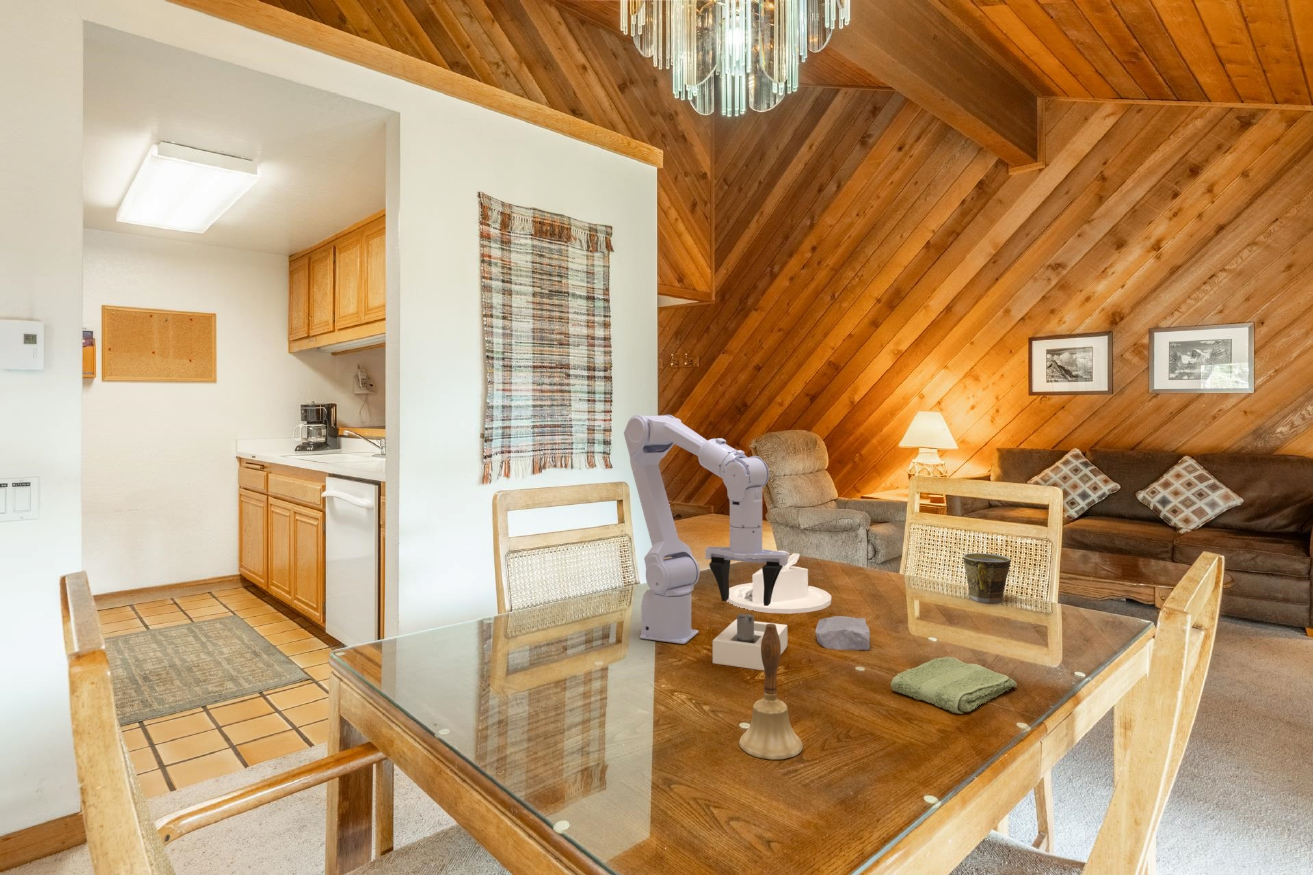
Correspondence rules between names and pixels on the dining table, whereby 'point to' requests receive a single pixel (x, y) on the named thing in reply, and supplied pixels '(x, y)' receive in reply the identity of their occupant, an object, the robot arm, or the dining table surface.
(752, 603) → the dish
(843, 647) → the stone block
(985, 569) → the ceramic cup
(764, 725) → the hand bell
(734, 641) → the hole block
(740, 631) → the peg
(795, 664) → the dining table surface
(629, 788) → the dining table surface
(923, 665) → the washcloth
